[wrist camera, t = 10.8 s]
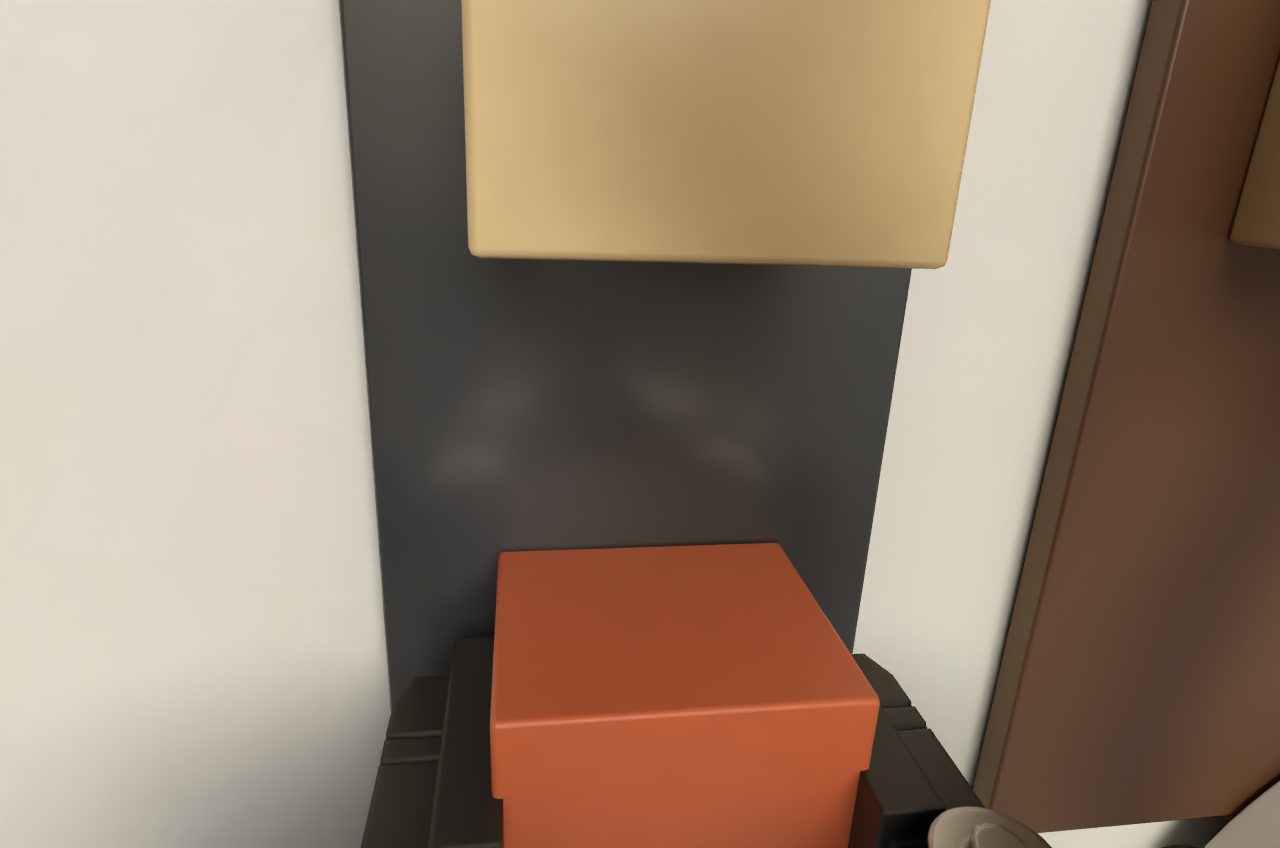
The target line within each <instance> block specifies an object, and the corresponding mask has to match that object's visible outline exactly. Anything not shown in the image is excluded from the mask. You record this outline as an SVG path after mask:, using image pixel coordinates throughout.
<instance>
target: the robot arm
mask: <svg viewBox="0 0 1280 848" xmlns="http://www.w3.org/2000/svg"><path fill="white" fill-rule="evenodd" d="M493 653H494V636H475V637H456V638H455V641H454V648H453V655H452V663H451V671H450V675H445V676H426V677H415V678H414V679H413V680H412V681H411V682H410V684H409V685H408V686H407V687H406V689H405V690H404V691H403V692H402V693H401V695H400V696H399V697H398V698H397V700H396V701H395V702H394V703H393V706H392V711H391V715H390V720H389V724H388V729H387V733H386V740H385V742H384V746H383V751H382V755H381V764H380V766H379V769H378V773H377V777H376V782H375V786H374V791H373V795H372V800H371V804H370V809H369V813H368V817H367V822H366V826H365V831H364V835H363V840H362V844H361V848H504V813H503V799H497V798H494V797H493V795H492V788H491V752H490V712H491V692H492V673H493ZM851 655H852V657H853V658H854V660H855V661H856V663H857V665H858V666H859V668H860V669H861V671H862V672H863V674H864V675H865V677H866V678H867V680H868V681H869V683H870V685H871V686H872V688H873V689H874V691H875V692H876V694H877V695H878V697H879V700H880V706H879V712H878V717H877V723H876V729H875V735H874V741H873V747H872V753H871V759H870V765H869V769H867V770H865V771H860V776H859V782H858V788H857V794H856V800H855V806H854V812H853V818H852V824H851V830H850V836H849V842H848V848H1052V847H1051V846H1050V845H1049V844H1048V843H1047V842H1046V841H1045V840H1044V839H1043V838H1042V837H1041V836H1040V835H1038V834H1037V833H1036V832H1035V831H1033V830H1032V829H1031V828H1029V827H1028V826H1026V825H1025V824H1023V823H1021V822H1020V821H1018V820H1016V819H1014V818H1012V817H1010V816H1007V815H1005V814H1003V813H1000V812H997V811H994V810H990V809H986V808H985V806H984V805H983V804H982V802H981V801H980V799H979V798H978V796H977V795H976V794H975V792H974V791H973V789H972V788H971V786H970V785H969V784H968V782H967V781H966V779H965V778H964V776H963V775H962V774H961V772H960V771H959V769H958V768H957V766H956V765H955V764H954V762H953V761H952V759H951V758H950V756H949V755H948V754H947V752H946V751H945V749H944V748H943V746H942V745H941V743H940V742H939V741H938V739H937V738H936V736H935V735H934V733H933V732H932V731H931V729H927V727H926V722H925V721H924V719H923V718H922V716H921V715H920V713H919V712H918V711H917V709H916V708H915V706H914V707H912V706H911V701H910V699H909V698H908V696H907V695H906V693H905V692H904V691H903V689H902V688H901V686H900V685H899V683H898V682H897V681H896V679H895V678H894V676H893V675H892V674H890V673H889V672H888V671H886V670H885V669H884V668H882V667H881V666H880V665H878V664H877V663H876V662H874V661H873V660H872V659H870V658H869V657H868V656H866V655H865V654H851ZM1162 848H1198V847H1193V846H1185V845H1171V846H1165V847H1162Z"/></svg>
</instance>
